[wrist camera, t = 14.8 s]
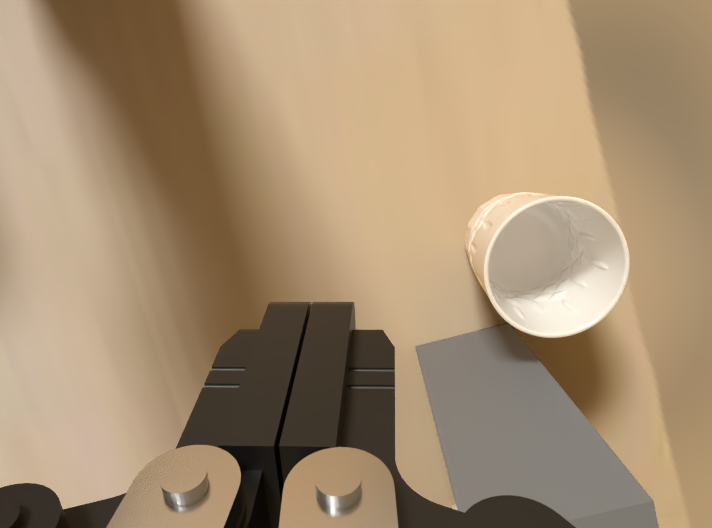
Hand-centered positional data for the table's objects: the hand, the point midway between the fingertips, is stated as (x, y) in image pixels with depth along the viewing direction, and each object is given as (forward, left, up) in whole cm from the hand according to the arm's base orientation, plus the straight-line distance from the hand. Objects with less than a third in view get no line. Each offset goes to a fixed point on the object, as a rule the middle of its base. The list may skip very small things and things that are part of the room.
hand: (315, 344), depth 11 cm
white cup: (+11, -3, -32) cm, 34 cm away
